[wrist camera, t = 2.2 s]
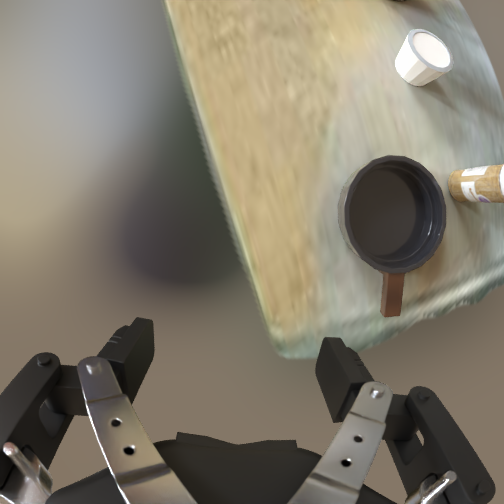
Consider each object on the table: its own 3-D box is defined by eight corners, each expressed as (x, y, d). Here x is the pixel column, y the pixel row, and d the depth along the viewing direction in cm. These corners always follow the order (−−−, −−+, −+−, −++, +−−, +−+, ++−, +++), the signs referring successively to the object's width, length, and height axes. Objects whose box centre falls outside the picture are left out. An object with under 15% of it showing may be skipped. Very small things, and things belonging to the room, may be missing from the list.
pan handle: (378, 261, 32) (388, 268, 28) (393, 260, 32) (405, 267, 28) (375, 306, 33) (384, 317, 29) (390, 304, 33) (400, 315, 29)
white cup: (427, 99, 27) (451, 82, 20) (386, 73, 27) (403, 51, 20) (435, 67, 26) (456, 48, 19) (396, 43, 26) (411, 20, 19)
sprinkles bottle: (446, 199, 29) (510, 202, 16) (446, 167, 28) (509, 156, 15) (469, 203, 29) (532, 208, 16) (469, 172, 28) (531, 166, 15)
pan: (334, 159, 31) (341, 153, 26) (427, 164, 29) (443, 160, 25) (337, 266, 33) (344, 276, 29) (427, 262, 31) (443, 270, 27)
